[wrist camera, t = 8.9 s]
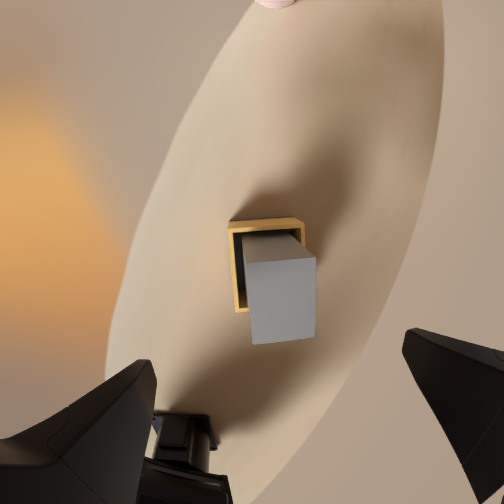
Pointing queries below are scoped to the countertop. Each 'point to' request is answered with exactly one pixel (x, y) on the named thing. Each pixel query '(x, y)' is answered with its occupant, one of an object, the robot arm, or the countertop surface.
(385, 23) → the countertop surface
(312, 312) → the plug
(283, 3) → the smoothie
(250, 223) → the socket block
